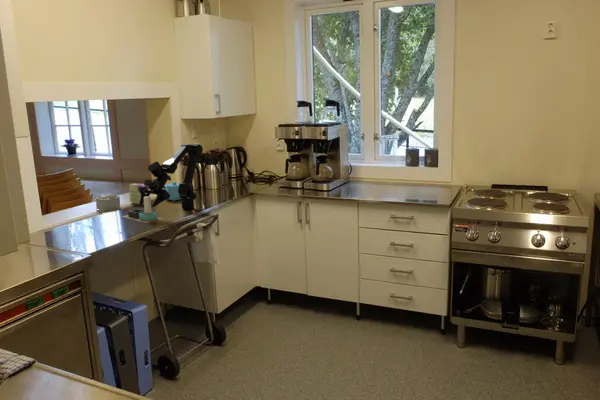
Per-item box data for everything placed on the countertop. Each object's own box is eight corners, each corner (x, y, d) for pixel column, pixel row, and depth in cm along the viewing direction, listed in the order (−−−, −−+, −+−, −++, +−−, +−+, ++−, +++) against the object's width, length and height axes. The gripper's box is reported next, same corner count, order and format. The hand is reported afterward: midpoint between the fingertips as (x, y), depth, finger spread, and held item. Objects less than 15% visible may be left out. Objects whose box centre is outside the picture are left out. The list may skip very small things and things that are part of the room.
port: (139, 219, 276) (138, 213, 275) (149, 216, 281) (149, 211, 280) (147, 221, 272) (146, 215, 271) (157, 218, 277) (157, 213, 276)
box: (149, 202, 320) (148, 184, 318) (144, 204, 315) (143, 185, 312) (135, 201, 323) (134, 183, 320) (129, 203, 317) (128, 184, 315)
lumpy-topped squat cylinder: (94, 209, 300) (93, 195, 298) (114, 206, 310) (113, 192, 308) (104, 212, 293) (103, 197, 292) (124, 208, 303) (123, 194, 301)
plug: (150, 217, 279) (150, 196, 276) (152, 219, 276) (151, 197, 273) (144, 218, 277) (143, 196, 275) (145, 219, 274) (144, 197, 272)
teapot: (194, 198, 334) (193, 181, 331) (169, 202, 321) (169, 184, 318) (183, 195, 342) (182, 179, 340) (159, 199, 329) (158, 182, 327)
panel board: (121, 218, 281) (120, 211, 280) (139, 214, 290) (139, 207, 289) (146, 224, 268) (146, 217, 267) (164, 220, 278) (164, 213, 277)
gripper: (139, 171, 280) (125, 195, 272) (165, 174, 271) (151, 199, 264) (150, 183, 288) (137, 206, 281) (176, 187, 279) (162, 210, 272)
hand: (146, 205), depth 274 cm, fingers open, 9 cm apart
